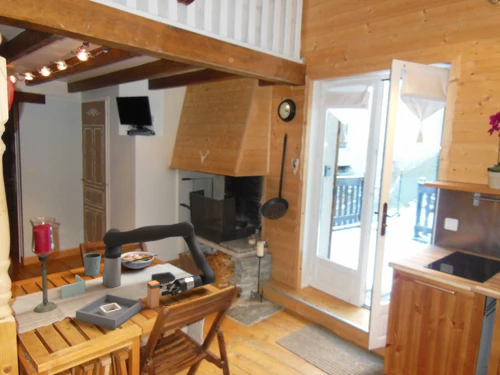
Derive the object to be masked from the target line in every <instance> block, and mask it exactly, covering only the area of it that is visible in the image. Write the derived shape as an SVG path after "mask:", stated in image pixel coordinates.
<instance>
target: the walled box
mask: <svg viewBox="0 0 500 375" xmlns="http://www.w3.org/2000/svg"><path fill="white" fill-rule="evenodd" d="M143 302H144V300H141V299H135V298H131V297H126V296H123V295H122V296H121V295H117V294H112V293H107V292H106V293H104V294H103V295H101V296H100V297H97V298H96V299H95V300H93V301H91V302H89V303H87V304H86V305H84V306H81V307H80V308H79V309H77V310H75V321H78V322H82V323H86V324H87V323H88V324H91V325H95V326H98V327H103V328H106V327H107V329H112V330H117V329H118V328H119V327H121V326H122V325H123V324H124V323H126V322H127V321H128V320H130V319H131V318H133V317H134V316H136V315H137V314H138V313H139V312H141V311H142V310H143V308H144V307H143V306H144V304H143ZM116 328H117V329H116Z"/></svg>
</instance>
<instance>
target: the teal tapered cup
mask: <svg viewBox="0 0 500 375" xmlns="http://www.w3.org/2000/svg"><path fill="white" fill-rule="evenodd" d="M101 257H102V254H101V253H98V252H89V253H86V254H84V255H83V263H84V264H83V268H84V271H83V272H84V276H86V277H94V276H97V275H100V270H101V269H100V268H101V259H102V258H101Z"/></svg>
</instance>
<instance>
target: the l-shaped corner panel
mask: <svg viewBox="0 0 500 375" xmlns="http://www.w3.org/2000/svg"><path fill="white" fill-rule="evenodd" d="M74 277H75V279H74V280H75V282H74V283H73V282H72V283H69V284H65V285H61V288H60V289H61V300H64V299H68V298H72V297H75V296H80V295H85V294H86V281H85V280H84V279H83V278H82V277H80V276H79V275H78V274H75V276H74Z"/></svg>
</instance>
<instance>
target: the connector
mask: <svg viewBox="0 0 500 375" xmlns="http://www.w3.org/2000/svg"><path fill="white" fill-rule="evenodd" d="M159 283H160V282H158V281H157V280H155V279H154V280H152V281H147V283H146V284H147V299H146V302H147V303H146V306H147V307H148V308H149V309H151V310H152V309H155V308H159V307H160V305H159V304H160V289H159V287H160V284H159Z"/></svg>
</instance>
